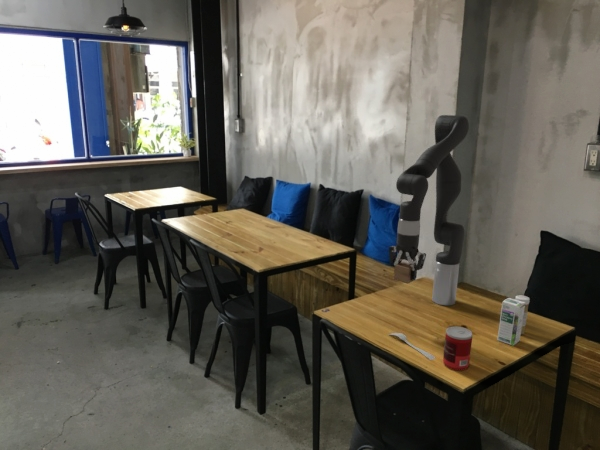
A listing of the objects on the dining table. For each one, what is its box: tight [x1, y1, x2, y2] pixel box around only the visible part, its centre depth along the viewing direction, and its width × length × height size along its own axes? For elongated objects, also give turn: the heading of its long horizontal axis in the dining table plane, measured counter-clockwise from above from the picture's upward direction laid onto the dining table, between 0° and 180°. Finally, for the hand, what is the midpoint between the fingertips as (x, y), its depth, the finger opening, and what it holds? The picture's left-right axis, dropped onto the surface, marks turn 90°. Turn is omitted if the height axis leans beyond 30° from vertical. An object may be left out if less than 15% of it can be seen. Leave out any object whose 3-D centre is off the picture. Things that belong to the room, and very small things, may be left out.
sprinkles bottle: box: [514, 294, 531, 335], centre depth 168 cm, size 5×5×13 cm
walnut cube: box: [393, 261, 417, 285], centre depth 168 cm, size 6×6×6 cm
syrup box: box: [497, 297, 525, 347], centre depth 161 cm, size 6×6×14 cm
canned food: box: [442, 326, 473, 371], centre depth 146 cm, size 8×8×11 cm
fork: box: [388, 332, 436, 361], centre depth 158 cm, size 3×21×3 cm, turn 32°
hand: (404, 277), depth 168 cm, fingers closed on walnut cube, 5 cm apart
